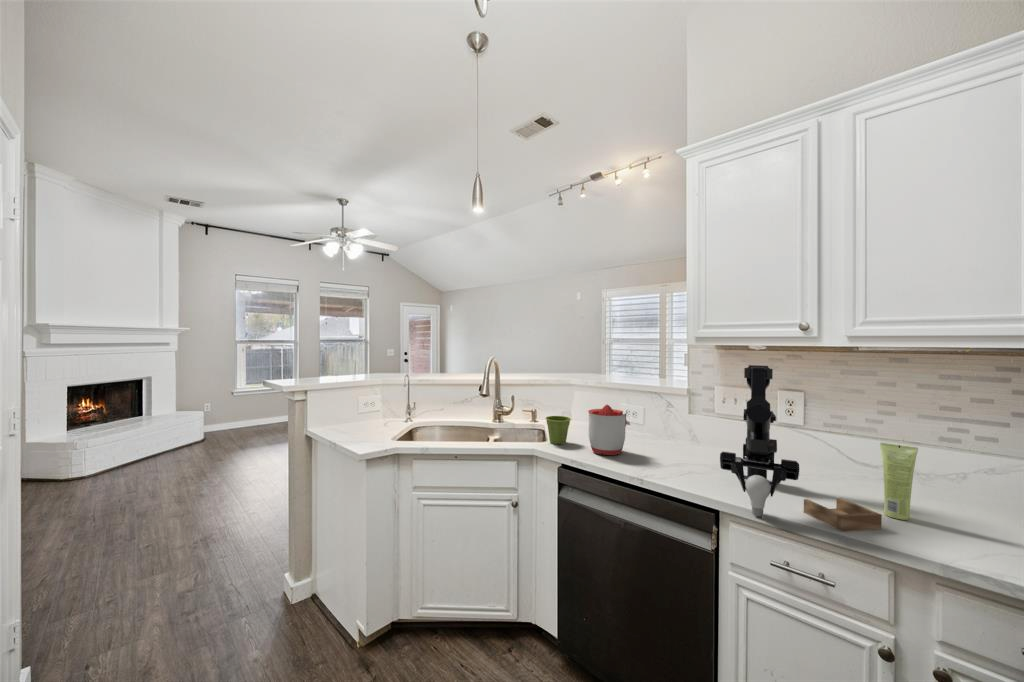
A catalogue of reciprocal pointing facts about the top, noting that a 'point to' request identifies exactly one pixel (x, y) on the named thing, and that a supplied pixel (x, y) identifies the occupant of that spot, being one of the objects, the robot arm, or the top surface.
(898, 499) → the tube
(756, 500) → the lightbulb
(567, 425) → the plant pot
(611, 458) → the top surface
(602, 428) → the citrus juicer
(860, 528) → the u rest
